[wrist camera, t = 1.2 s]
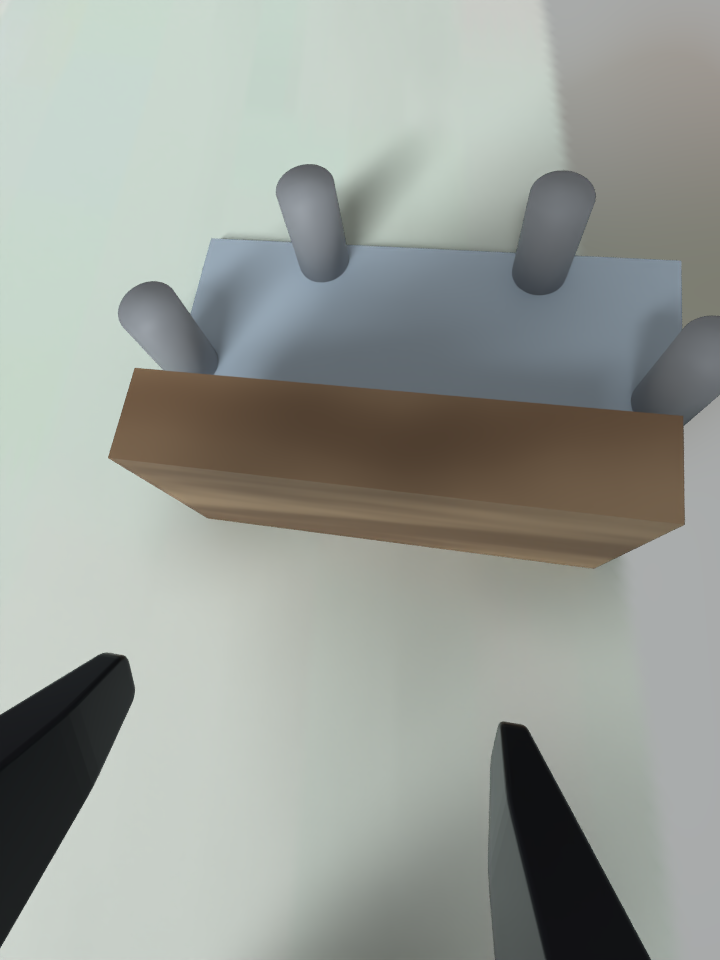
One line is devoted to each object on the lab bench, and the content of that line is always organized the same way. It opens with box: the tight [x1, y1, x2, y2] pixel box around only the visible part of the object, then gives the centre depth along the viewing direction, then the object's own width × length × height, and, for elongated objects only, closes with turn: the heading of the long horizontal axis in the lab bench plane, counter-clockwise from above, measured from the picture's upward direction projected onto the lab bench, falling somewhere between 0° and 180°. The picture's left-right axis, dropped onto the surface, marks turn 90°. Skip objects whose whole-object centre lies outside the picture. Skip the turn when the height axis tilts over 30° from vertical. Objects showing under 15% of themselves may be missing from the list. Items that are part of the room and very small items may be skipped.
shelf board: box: [108, 368, 685, 569], centre depth 19 cm, size 3×16×8 cm, turn 81°
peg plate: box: [118, 164, 720, 434], centre depth 23 cm, size 10×23×5 cm, turn 81°
